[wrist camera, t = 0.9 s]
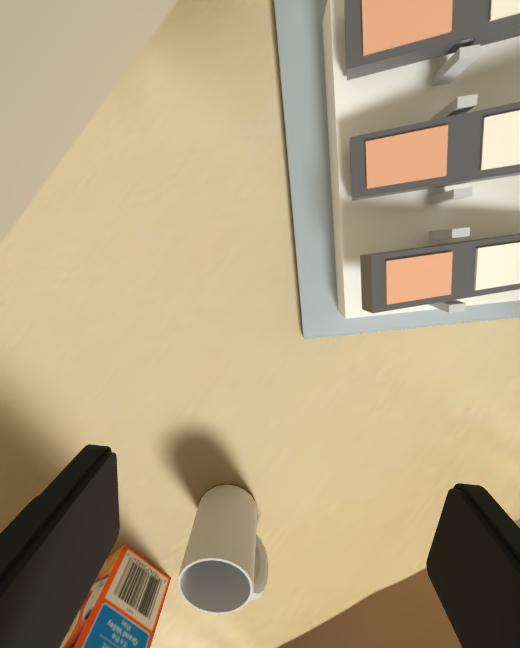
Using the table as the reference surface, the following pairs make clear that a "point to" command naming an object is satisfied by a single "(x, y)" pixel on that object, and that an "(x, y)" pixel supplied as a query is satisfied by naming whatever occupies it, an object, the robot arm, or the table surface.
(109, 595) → the orange cereal box
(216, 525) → the cup
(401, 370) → the table surface
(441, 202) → the switch unit
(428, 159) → the rocker
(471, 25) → the rocker
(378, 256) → the rocker
